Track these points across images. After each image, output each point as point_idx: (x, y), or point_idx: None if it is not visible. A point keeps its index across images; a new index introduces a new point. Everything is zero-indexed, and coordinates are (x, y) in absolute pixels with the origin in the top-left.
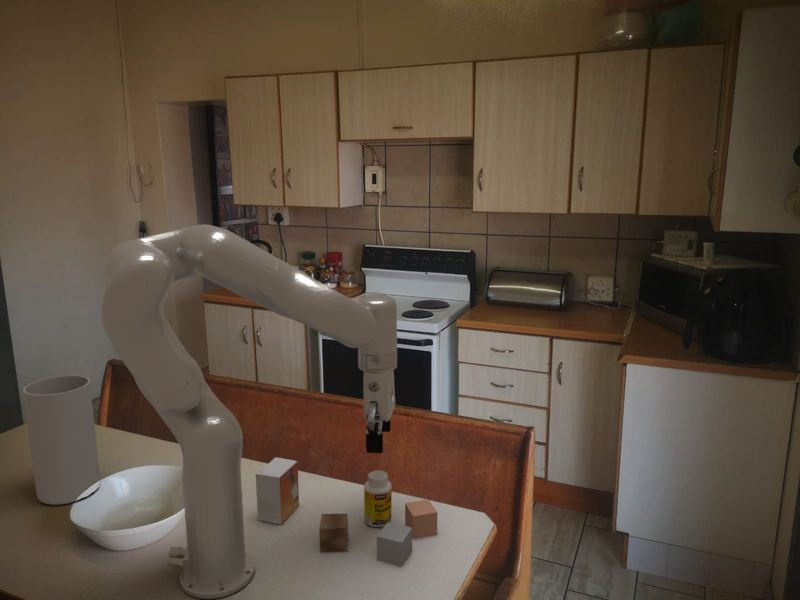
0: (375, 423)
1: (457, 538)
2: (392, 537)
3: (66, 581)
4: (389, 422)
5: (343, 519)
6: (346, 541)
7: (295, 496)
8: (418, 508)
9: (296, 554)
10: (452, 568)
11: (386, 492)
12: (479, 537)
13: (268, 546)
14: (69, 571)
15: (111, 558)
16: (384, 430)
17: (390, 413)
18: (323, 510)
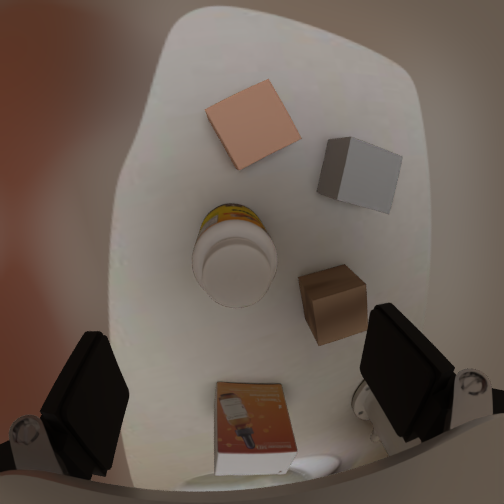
0: (120, 425)
1: (264, 53)
2: (390, 179)
3: (377, 458)
4: (81, 370)
5: (336, 300)
6: (353, 272)
7: (231, 400)
8: (260, 129)
9: (354, 334)
10: (360, 66)
11: (262, 228)
12: (251, 16)
13: (335, 374)
14: (365, 464)
15: (351, 459)
16: (111, 360)
17: (471, 482)
18: (219, 344)
